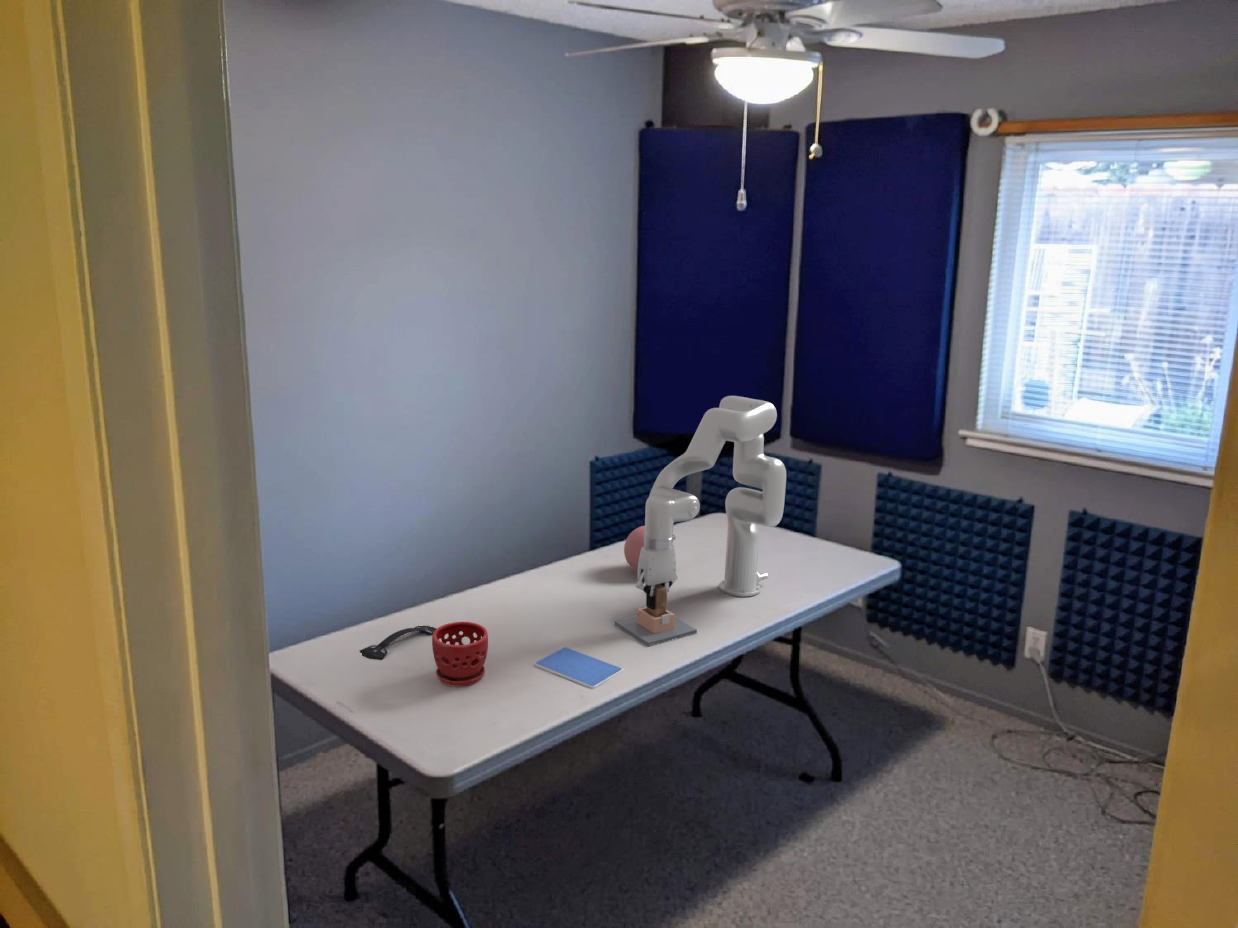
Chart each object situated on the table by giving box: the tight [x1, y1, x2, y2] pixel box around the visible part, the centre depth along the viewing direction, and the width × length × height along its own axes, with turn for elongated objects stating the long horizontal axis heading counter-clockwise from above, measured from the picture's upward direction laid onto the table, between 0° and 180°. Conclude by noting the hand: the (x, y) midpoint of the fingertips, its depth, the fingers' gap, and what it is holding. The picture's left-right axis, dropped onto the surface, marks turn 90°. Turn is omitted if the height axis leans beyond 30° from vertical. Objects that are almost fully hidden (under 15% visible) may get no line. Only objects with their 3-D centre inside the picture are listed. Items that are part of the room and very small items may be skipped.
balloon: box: [623, 525, 645, 572], centre depth 298 cm, size 15×20×15 cm
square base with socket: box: [614, 606, 698, 647], centre depth 257 cm, size 16×16×6 cm
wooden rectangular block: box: [646, 584, 667, 618], centre depth 256 cm, size 3×4×10 cm, turn 34°
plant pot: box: [431, 621, 489, 687], centre depth 226 cm, size 13×13×12 cm
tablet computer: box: [533, 646, 624, 690], centre depth 234 cm, size 19×13×1 cm, turn 53°
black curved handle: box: [359, 625, 438, 661], centre depth 246 cm, size 9×25×3 cm, turn 144°
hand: (656, 605), depth 256 cm, fingers closed on wooden rectangular block, 3 cm apart
